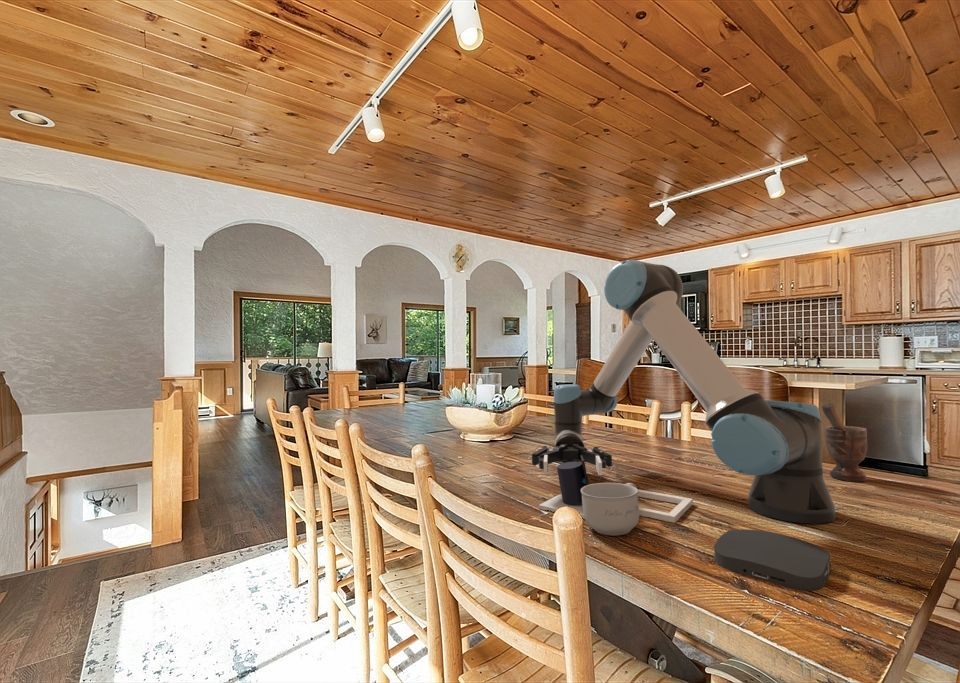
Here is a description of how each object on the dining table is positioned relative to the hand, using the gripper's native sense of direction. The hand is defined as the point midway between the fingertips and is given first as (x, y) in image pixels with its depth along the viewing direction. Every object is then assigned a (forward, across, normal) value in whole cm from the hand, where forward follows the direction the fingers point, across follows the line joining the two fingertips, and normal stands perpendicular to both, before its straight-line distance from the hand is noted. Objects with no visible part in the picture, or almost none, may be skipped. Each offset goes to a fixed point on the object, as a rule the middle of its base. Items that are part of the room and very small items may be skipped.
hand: (572, 468), depth 97 cm
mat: (-4, 0, -10) cm, 10 cm away
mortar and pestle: (-32, -70, -10) cm, 78 cm away
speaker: (-4, 0, -9) cm, 10 cm away
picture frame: (-6, -17, -10) cm, 20 cm away
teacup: (+7, -8, -10) cm, 15 cm away
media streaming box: (+19, -30, -10) cm, 37 cm away
